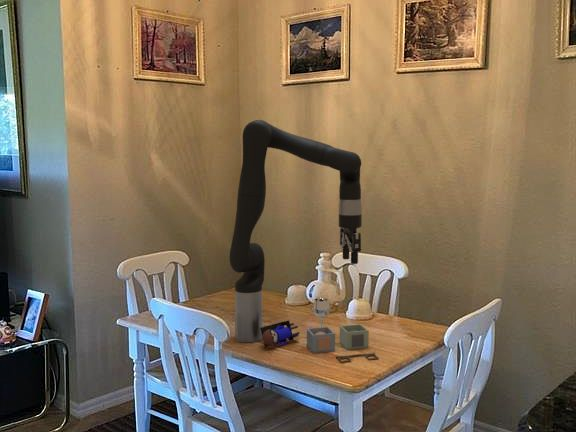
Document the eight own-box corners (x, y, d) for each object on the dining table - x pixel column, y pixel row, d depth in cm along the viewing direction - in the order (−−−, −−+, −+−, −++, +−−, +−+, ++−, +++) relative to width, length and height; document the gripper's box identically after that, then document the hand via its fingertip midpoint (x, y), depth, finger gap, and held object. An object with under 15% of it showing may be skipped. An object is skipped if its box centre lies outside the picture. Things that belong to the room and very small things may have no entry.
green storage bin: (347, 350, 197) (347, 332, 196) (339, 343, 204) (339, 325, 204) (368, 348, 198) (368, 330, 198) (360, 341, 206) (360, 324, 205)
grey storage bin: (313, 353, 194) (312, 335, 193) (306, 345, 202) (306, 328, 201) (335, 351, 196) (335, 333, 195) (328, 344, 203) (328, 326, 203)
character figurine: (302, 343, 206) (268, 353, 196) (289, 336, 211) (254, 346, 202) (303, 321, 205) (269, 330, 195) (289, 315, 210) (255, 324, 200)
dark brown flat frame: (339, 363, 186) (339, 361, 186) (335, 358, 190) (335, 356, 190) (379, 359, 189) (379, 357, 188) (374, 354, 193) (374, 352, 193)
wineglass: (328, 335, 213) (328, 302, 211) (312, 334, 214) (311, 301, 212) (330, 330, 218) (330, 297, 217) (314, 329, 219) (314, 297, 218)
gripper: (368, 214, 193) (368, 264, 194) (353, 210, 206) (353, 257, 208) (346, 215, 191) (346, 266, 193) (332, 211, 205) (332, 258, 207)
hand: (350, 261), depth 200 cm, fingers open, 8 cm apart
